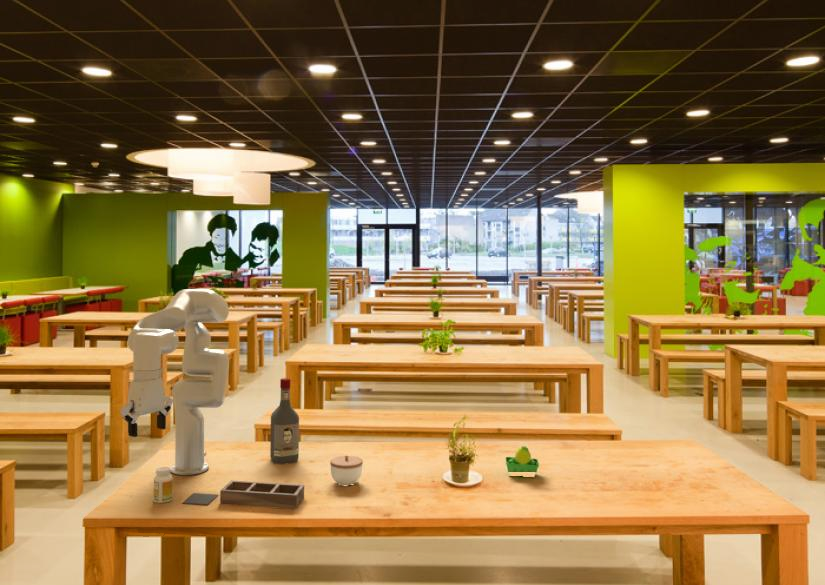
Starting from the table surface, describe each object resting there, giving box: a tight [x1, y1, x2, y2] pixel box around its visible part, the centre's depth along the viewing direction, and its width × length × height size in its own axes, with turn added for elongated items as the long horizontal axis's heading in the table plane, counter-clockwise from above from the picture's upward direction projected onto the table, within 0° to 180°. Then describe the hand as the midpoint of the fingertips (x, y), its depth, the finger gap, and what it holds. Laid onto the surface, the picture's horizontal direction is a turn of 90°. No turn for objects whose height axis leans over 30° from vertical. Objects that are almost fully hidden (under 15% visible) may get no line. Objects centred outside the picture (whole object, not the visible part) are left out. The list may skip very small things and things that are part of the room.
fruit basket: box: [504, 445, 540, 473], centre depth 237 cm, size 11×9×11 cm
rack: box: [219, 480, 305, 510], centre depth 207 cm, size 9×24×4 cm, turn 84°
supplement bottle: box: [153, 466, 173, 504], centre depth 206 cm, size 5×5×10 cm
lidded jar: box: [329, 454, 364, 486], centre depth 225 cm, size 11×11×9 cm
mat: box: [182, 492, 219, 506], centre depth 207 cm, size 8×8×1 cm
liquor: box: [269, 377, 300, 465], centre depth 247 cm, size 9×9×30 cm
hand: (147, 432), depth 198 cm, fingers open, 9 cm apart
